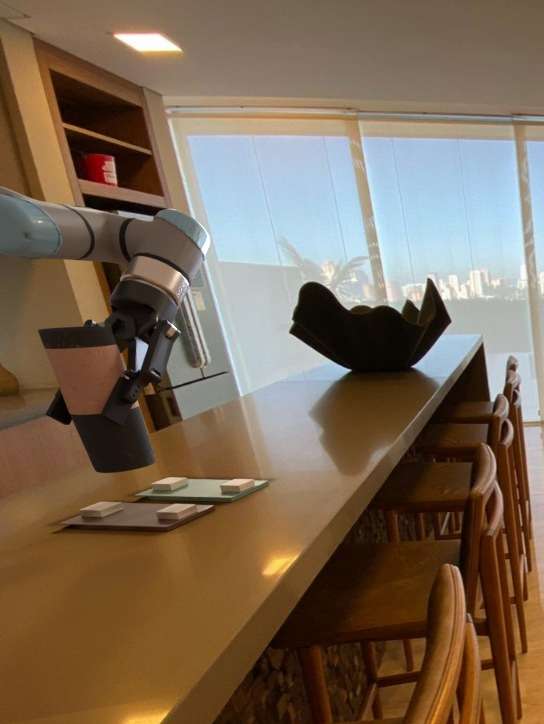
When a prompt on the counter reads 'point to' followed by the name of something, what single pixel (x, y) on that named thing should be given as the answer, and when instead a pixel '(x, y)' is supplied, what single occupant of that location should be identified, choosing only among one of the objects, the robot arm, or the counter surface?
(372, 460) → the counter surface
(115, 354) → the travel mug
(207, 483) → the strip
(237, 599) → the counter surface
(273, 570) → the counter surface
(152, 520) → the strip
